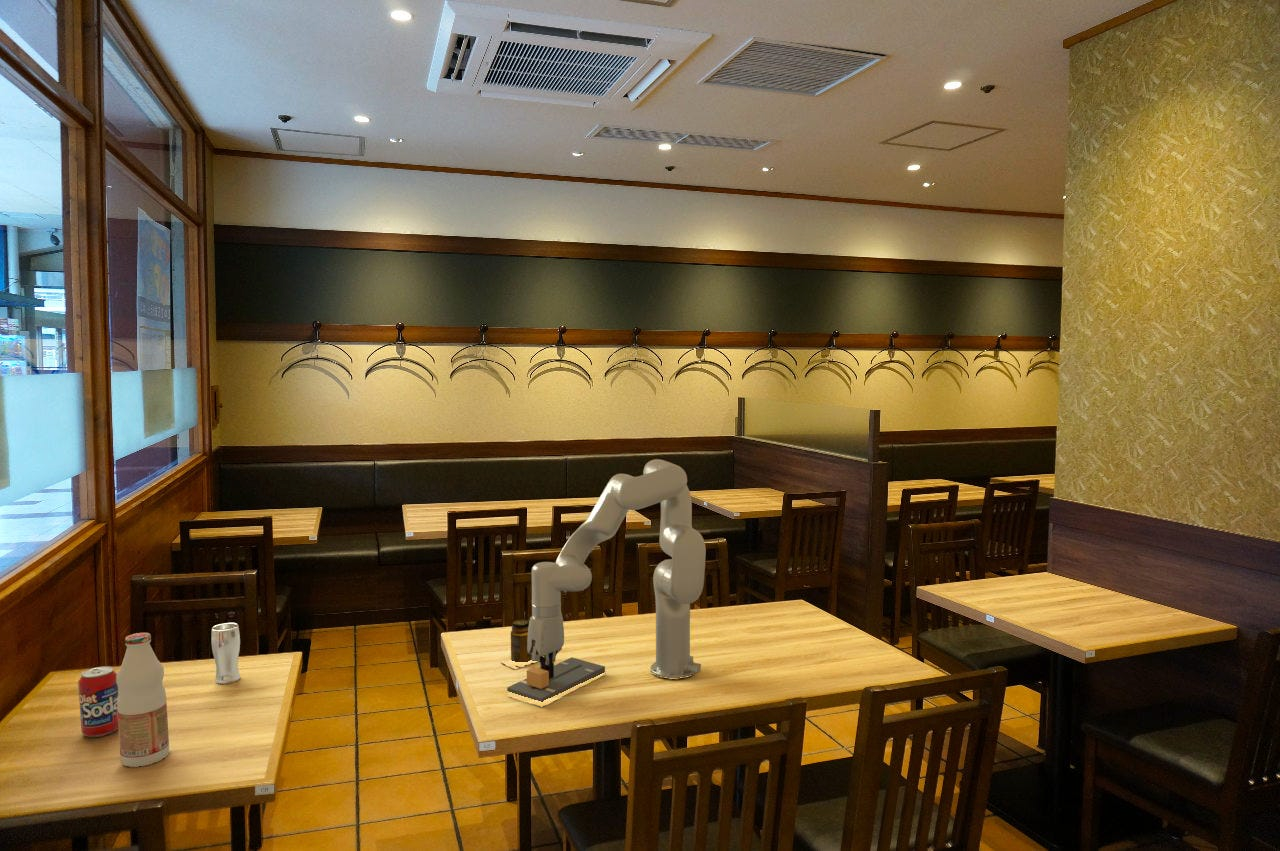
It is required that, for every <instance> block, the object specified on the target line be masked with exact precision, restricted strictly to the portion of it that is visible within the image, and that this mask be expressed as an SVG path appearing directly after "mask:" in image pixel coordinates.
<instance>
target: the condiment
mask: <svg viewBox="0 0 1280 851" xmlns="http://www.w3.org/2000/svg"><path fill="white" fill-rule="evenodd" d="M529 621H530V620H528V619H516V620H513V621H512V623H511V631H510V659H511V660H512V661H515V662H528V661H530V660H532V653H531V654H530V653H528V650H527V640H528V627H529Z"/></svg>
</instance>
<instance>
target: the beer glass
mask: <svg viewBox="0 0 1280 851" xmlns="http://www.w3.org/2000/svg"><path fill="white" fill-rule="evenodd" d="M240 637H241V636H240V628H239V624H238V623H236V622H226V623H219V624H216V625H214V626H213V627H212V628H211V650H212V655H213V659H214V662H215V668H216V673H215V681H214V682H215V684H218V683H219V684H220V683H221V684H220V685H228V684H231V682H233V683H235V682H237V681H239V680H240V679H241V676H240V672H239V655H240V648H241V646H240V645H241V638H240ZM238 679H239V680H238ZM234 681H235V682H234ZM227 683H228V684H227Z"/></svg>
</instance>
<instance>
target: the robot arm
mask: <svg viewBox="0 0 1280 851" xmlns="http://www.w3.org/2000/svg"><path fill="white" fill-rule="evenodd" d="M642 472H643V474H642V475H639V476H632V475H630V474H627V473H617V474H615V475H613V476H612V477H611V478H610V479H609V481H608V482H607V484H606V486H605V487H604V489H603V491H602V493H601V494H600V496H599V498H598V499H597V501H596V503H595V505H594V507H593V508H592V510H591V512H590V514H588V516H587V519H586V520H585V521H584V522H582V524H581V525H580V526H579V527H578V528H577V529H576V530H575V531H574V532H573V533H572V535H570V536H569V538H568V540H567V541H566V543H565V544H564V545H563V547H562V549H561V551H560V553H559V555H558V556H557V558H556V560H555V562H552V561H541V562H537V563H535V564H534V565H533V566H532V567H531V616H530V617H529V620H528V621H529V627H528V640H527V650H528V653H530V654H531V653H532V661H537V662H538V664H540V669H544V670H547V671H549V679H551V678H553V677H554V665H555V662H556V658H557V654H558V653H559V652H561V651H562V649H563V647H564V644H565V629H564V628H565V627H564V618H563V614H562V607H561V605H562V602H561V598H562V597H561V596H562V594H561V593H562V592H581V591H584V590H586V589H587V588H588V587H589V586H590V584H591V583H592V581H593V580H592V578H593V575H592V572H591V569H590V568H589V567H588V566H587V565H586V564H585V562H586V561H587V558H588V557H589V555H590V553H592V551H593V550H594V549H595V548H596V547H597V545H599V544H601V543H603V542H605V541H607V540H609V539H611V538H613V537H614V536H615V535H616V533H617V532H618V530H619V528H620V526H621V524H622V522H623V521H624V519H625V518H626V515H627V513H629V511H635V510H641V509H645V508H647V507H650V506H653V505H656V504H659V503H660V524H659V528H660V529H659V546H660V549H661V550H662V551H663V552H664V553H665V554H666V555H668V556H669V557H671V559H670V558H669V559H664V560H663V561H661V562H660V563H658V565H657V566H655V569H654V572H653V576H652V580H653V581H652V582H653V590H654V591H653V592H654V598H655V662H653V663H652V664H651V665H650V669H651V671H650V673H651V672H652V673H654V674H656V675H658V676H662V677H667V678H680V677H686V676H690V675H692V674H693V673H694V674H698V675H699V674H700V673H701V667H702V664H701V663H698V662H695V661H694V656H693V655H691V604H692V603H694V602H696V601H698V599H699V598H700V596H701V594H702V592H703V590H704V589H703V588H704V584H705V572H706V571H705V570H706V569H705V568H706V557H707V556H706V555H707V554H706V552H707V550H706V548H707V547H706V543H705V540H704V538H703V536H702V534H701V533H700V532H699V531H698V530H697V529H695V528H693V524H692V522H693V521H692V520H693V519H692V518H693V515H692V514H693V513H692V512H693V509H692V508H693V506H692V504H693V503H692V495H691V493H690V489H689V486H688V485H687V483H688V476H687V473H686V471H685V470H684V468H682V467H681V466H679V465H677V464H674V463H673V462H670V461H666V460H664V459H658V458H655V459H652V460H650V461H648V462H647V463H645V465H644V468H643V471H642ZM561 591H562V592H561ZM650 669H649V670H650ZM652 673H651V674H652ZM694 674H693V675H694ZM693 675H692V676H693ZM690 677H691V676H690Z"/></svg>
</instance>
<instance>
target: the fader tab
mask: <svg viewBox="0 0 1280 851" xmlns="http://www.w3.org/2000/svg"><path fill="white" fill-rule="evenodd" d="M526 678H527V685H530V686H533V687H537V688H540V689H542V688H544V687H546V686H548V685H549V671H547V670H544V669H541V667H537V666H533V667H531V668H529V669H527V670H526Z"/></svg>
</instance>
